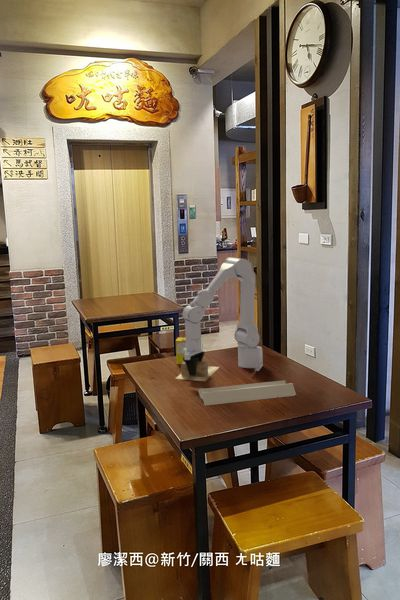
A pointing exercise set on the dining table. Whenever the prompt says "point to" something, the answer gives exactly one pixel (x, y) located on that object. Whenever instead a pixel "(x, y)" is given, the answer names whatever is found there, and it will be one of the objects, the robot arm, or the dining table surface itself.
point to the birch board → (210, 372)
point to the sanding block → (200, 370)
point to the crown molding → (246, 392)
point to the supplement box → (180, 349)
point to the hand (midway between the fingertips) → (194, 372)
